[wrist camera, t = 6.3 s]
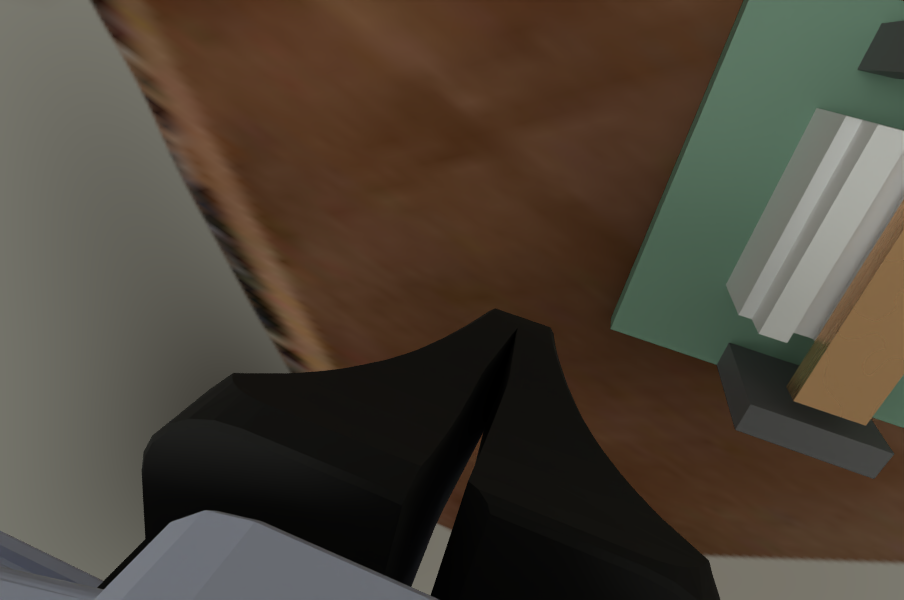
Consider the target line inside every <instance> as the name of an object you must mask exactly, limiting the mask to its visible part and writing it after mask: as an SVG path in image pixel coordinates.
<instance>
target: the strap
mask: <svg viewBox="0 0 904 600" xmlns="http://www.w3.org/2000/svg"><path fill="white" fill-rule="evenodd" d="M903 375H904V200H903V201H902V203H901V204H900V206H899V207H898V209H897V211H896V212H895V214H894V215H893V217H892V219H891V220H890V222H889V223H888V225H887V227H886V228H885V230H884V231H883V233H882V235H881V236H880V238H879V239H878V241H877V243H876V244H875V246H874V247H873V249H872V251H871V252H870V254H869V255H868V257H867V259H866V260H865V262H864V263H863V265H862V267H861V268H860V270H859V271H858V273H857V275H856V276H855V278H854V279H853V281H852V283H851V284H850V286H849V287H848V289H847V290H846V292H845V294H844V295H843V297H842V298H841V300H840V302H839V303H838V305H837V306H836V308H835V310H834V311H833V313H832V314H831V316H830V318H829V319H828V321H827V322H826V324H825V326H824V327H823V329H822V330H821V332H820V334H819V335H818V337H817V338H816V340H815V342H814V343H813V345H812V346H811V348H810V350H809V351H808V353H807V354H806V356H805V358H804V359H803V361H802V362H801V364H800V365H799V367H798V369H797V370H796V372H795V373H794V375H793V377H792V378H791V380H790V381H789V383H788V385H787V386H786V387H787V389H788V391H789V393H790V395H791V397H792V399H793V401H795V402H798V403H801V404H803V405H806V406H809V407H812V408H815V409H818V410H821V411H824V412H827V413H830V414H833V415H836V416H839V417H842V418H845V419H848V420H850V421H853V422H856V423H859V424H862V425H865V426H866V425H867V424H868V422H869V421H870V419H871V418H872V417H873V415H874V414H875V413H876V411H877V410H878V409H879V407H880V406H881V405H882V403H883V402H884V401H885V399H886V398H887V396H888V395H889V394H890V392H891V391H892V390H893V388H894V387H895V386H896V384H897V383H898V382H899V380H900V379H901V378H902V376H903Z"/></svg>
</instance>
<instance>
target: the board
mask: <svg viewBox="0 0 904 600" xmlns="http://www.w3.org/2000/svg"><path fill="white" fill-rule="evenodd" d="M903 200H904V1H901V0H744V1H743V3H742V5H741V8H740V10H739V13H738V15H737V17H736V20H735V22H734V25H733V27H732V29H731V32H730V34H729V37H728V39H727V41H726V44H725V46H724V49H723V51H722V53H721V56H720V58H719V61H718V63H717V65H716V68H715V70H714V73H713V75H712V77H711V80H710V82H709V85H708V87H707V89H706V92H705V94H704V97H703V99H702V101H701V104H700V106H699V109H698V111H697V113H696V116H695V118H694V121H693V123H692V125H691V128H690V130H689V133H688V135H687V137H686V140H685V142H684V145H683V147H682V149H681V152H680V154H679V157H678V159H677V161H676V164H675V166H674V169H673V171H672V173H671V176H670V178H669V181H668V183H667V185H666V188H665V190H664V193H663V195H662V197H661V200H660V202H659V205H658V207H657V209H656V212H655V214H654V217H653V219H652V221H651V224H650V226H649V229H648V231H647V233H646V236H645V238H644V241H643V243H642V245H641V248H640V250H639V253H638V255H637V257H636V260H635V262H634V265H633V267H632V269H631V272H630V274H629V277H628V279H627V281H626V284H625V286H624V289H623V291H622V293H621V296H620V298H619V301H618V303H617V305H616V308H615V310H614V313H613V315H612V317H611V329H612V330H615V331H618V332H621V333H624V334H627V335H630V336H633V337H636V338H639V339H642V340H645V341H648V342H651V343H654V344H657V345H660V346H663V347H665V348H668V349H671V350H674V351H677V352H680V353H683V354H686V355H689V356H692V357H695V358H698V359H701V360H704V361H707V362H710V363H713V364H716V365H717V368H718V371H719V375H720V378H721V382H722V385H723V389H724V392H725V396H726V399H727V403H728V406H729V410H730V413H731V417H732V420H733V424H734V427H735V430H737V431H740V432H743V433H746V434H749V435H751V436H754V437H757V438H760V439H763V440H765V441H768V442H771V443H774V444H777V445H780V446H782V447H785V448H788V449H791V450H794V451H796V452H799V453H802V454H805V455H808V456H811V457H813V458H816V459H819V460H822V461H825V462H828V463H830V464H833V465H836V466H839V467H842V468H844V469H847V470H850V471H853V472H856V473H859V474H861V475H864V476H867V477H870V478H873V479H874V478H875V477H876V476H877V475H878V473H879V472H880V471H881V470H882V468H883V467H884V466H885V465H886V463H887V462H888V461H889V460H890V458H891V457H892V456H893V455H894V453H893V451H892V450H891V448H890V447H889V445H888V444H887V442H886V441H885V439H884V438H883V436H882V435H881V433H880V432H879V430H878V429H877V427H876V426H875V425H874V423H873V422H872V420H871V419H870V421H869V422H868V424H867V425H866V426H865V425H862V424H859V423H856V422H853V421H850V420H848V419H845V418H842V417H839V416H836V415H833V414H830V413H827V412H824V411H821V410H818V409H815V408H812V407H809V406H806V405H803V404H801V403H798V402H795V401H793V399H792V397H791V395H790V393H789V391H788V389H787V387H786V386H787V385H788V383H789V381H790V380H791V378H792V377H793V375H794V373H795V372H796V370H797V369H798V367H799V365H800V364H801V362H802V361H803V359H804V358H805V356H806V354H807V353H808V351H809V350H810V348H811V346H812V345H813V343H814V342H815V340H816V338H817V337H818V335H819V334H820V332H821V330H822V329H823V327H824V326H825V324H826V322H827V321H828V319H829V318H830V316H831V314H832V313H833V311H834V310H835V308H836V306H837V305H838V303H839V302H840V300H841V298H842V297H843V295H844V294H845V292H846V290H847V289H848V287H849V286H850V284H851V283H852V281H853V279H854V278H855V276H856V275H857V273H858V271H859V270H860V268H861V267H862V265H863V263H864V262H865V260H866V259H867V257H868V255H869V254H870V252H871V251H872V249H873V247H874V246H875V244H876V243H877V241H878V239H879V238H880V236H881V235H882V233H883V231H884V230H885V228H886V227H887V225H888V223H889V222H890V220H891V219H892V217H893V215H894V214H895V212H896V211H897V209H898V207H899V206H900V204H901V203H902V201H903ZM873 418H876V419H879V420H882V421H885V422H888V423H891V424H894V425H897V426H899V427H902V428H904V375H903V376H902V378H901V379H900V380H899V382H898V383H897V384H896V386H895V387H894V388H893V390H892V391H891V392H890V394H889V395H888V396H887V398H886V399H885V401H884V402H883V403H882V405H881V406H880V407H879V409H878V410H877V411H876V413H875V414H874V415H873Z"/></svg>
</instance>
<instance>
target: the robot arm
mask: <svg viewBox="0 0 904 600" xmlns="http://www.w3.org/2000/svg"><path fill="white" fill-rule="evenodd" d="M483 431H484V432H483ZM482 433H483V436H482V439H481V443H480V447H479V451H478V455H477V459H476V463H475V467H474V469H473V471H472V474H471V476H470V478H469V480H468V483H467V486H466V489H465V492H464V495H463V498H462V501H461V505H460V508H459V511H458V514H457V517H456V520H455V523H454V526H453V529H452V532H451V535H450V538H449V541H448V544H447V547H446V550H445V554H444V556H443V559H442V563H441V565H440V569H439V571H438V575H437V578H436V581H435V584H434V587H433V590H432V593H431V596H430V595H428V594H425V593H423V592H421V591H419V590H417V589H414V588H412V587H411V586H412V583H413V581H414V578H415V576H416V573H417V571H418V568H419V566H420V563H421V561H422V558H423V556H424V553H425V550H426V548H427V545H428V543H429V540H430V538H431V535H432V533H433V530H434V528H435V526H436V523H437V521H438V519H439V517H440V515H441V513H442V511H443V508H444V507H445V505H446V503H447V501H448V499H449V497H450V495H451V493H452V491H453V489H454V487H455V485H456V483H457V482H458V480H459V478H460V476H461V474H462V472H463V470H464V468H465V466H466V464H467V462H468V460H469V458H470V457H471V455H472V453H473V451H474V449H475V447H476V445H477V443H478V441H479V439H480V437H481V435H482ZM142 485H143V502H144V521H145V538H146V539H145V540H144V541H143V542H142V543H141V544H140V545H139V546H138V547H137V548H136V549H135V550H134V551H133V552H132V553H131V554H130V555H129V556H128V557H127V558H126V559H125V560H124V561H123V562H122V563H121V564H120V565H119V566H118V567H117V568H116V569H115V570H114V571H113V572H112V573H111V574H110V575H109V576H108V577H107V578H106V579H105V580H104V581H102V580H100V579H99V578H96V577H94V576H92V575H90V574H88V573H86V572H84V571H82V570H80V569H78V568H76V567H74V566H72V565H70V564H68V563H66V562H64V561H62V560H60V559H57V558H55V557H53V556H51V555H49V554H47V553H45V552H43V551H41V550H39V549H37V548H34V547H33V546H31V545H29V544H27V543H25V542H22V541H20V540H18V539H16V538H14V537H12V536H10V535H8V534H6V533H4V532H2V531H0V600H720V597H719V594H718V591H717V587H716V585H715V581H714V578H713V575H712V571H711V567H710V563H709V560H708V559H706V558H705V557H704V556H703V555H702V554H701V553H700V552H699V551H698V550H696V549H695V548H694V547H693V546H692V545H691V544H690V543H689V542H688V541H686V540H685V539H684V538H683V537H682V536H681V535H680V534H679V533H677V532H676V531H675V530H674V529H673V528H672V527H671V526H670V525H669V524H667V523H666V522H665V521H664V520H663V519H662V518H661V517H660V516H659V515H658V514H657V513H656V512H655V511H654V510H653V509H652V508H651V507H650V506H649V505H648V504H647V503H646V502H645V500H644V499H643V498H642V497H641V496H640V495H639V494H638V493H637V492H636V491H635V490H634V489H633V488H632V486H631V485H630V484H629V483H628V482H627V481H626V479H625V478H624V477H623V476H622V475H621V474H620V472H619V471H618V470H617V468H616V467H615V466H614V464H613V463H612V462H611V461H610V459H609V458H608V457H607V455H606V454H605V453H604V451H603V450H602V449H601V447H600V446H599V444H598V443H597V441H596V440H595V438H594V437H593V435H592V433H591V432H590V430H589V428H588V427H587V425H586V424H585V422H584V420H583V418H582V416H581V414H580V412H579V410H578V408H577V406H576V404H575V402H574V400H573V397H572V395H571V393H570V390H569V388H568V385H567V383H566V380H565V377H564V374H563V371H562V368H561V365H560V362H559V359H558V355H557V351H556V347H555V342H554V334H553V332H552V330H551V328H550V327H548V326H545V325H542V324H539V323H536V322H533V321H530V320H527V319H524V318H521V317H518V316H516V315H513V314H510V313H507V312H504V311H501V310H498V309H493V310H491V311H489V312H487V313H486V314H484V315H483V316H481V317H480V318H478V319H476V320H475V321H473V322H472V323H470V324H468V325H467V326H465V327H463V328H461V329H459V330H458V331H456V332H454V333H452V334H450V335H448V336H447V337H445V338H443V339H441V340H438V341H436V342H434V343H432V344H429V345H427V346H425V347H423V348H421V349H418V350H416V351H413V352H410V353H407V354H404V355H401V356H397V357H394V358H391V359H387V360H383V361H379V362H374V363H369V364H364V365H359V366H354V367H349V368H343V369H336V370H328V371H318V372H305V373H287V374H282V373H281V374H280V373H279V374H278V373H273V374H271V373H270V374H268V373H267V374H266V373H265V374H264V373H259V374H257V373H255V374H254V373H250V374H249V373H248V374H246V373H245V374H244V373H233V374H231V375H230V376H228V377H227V378H225V379H224V380H222V381H221V382H220V383H218V384H217V385H215V386H214V387H213V388H211V389H209V390H208V391H207V392H206V393H205V394H203V395H202V396H201V397H200V398H198V399H197V400H196V401H195V402H194V403H192V404H191V405H190V406H189V407H187V408H186V409H185V410H184V411H182V412H181V413H180V414H179V415H177V416H176V417H175V418H174V419H172V420H171V421H170V422H169V423H167V424H166V425H165V426H164V427H162V428H161V429H160V430H159V431H158V432H156V433H155V434H154V435H153V436H152V437H151V439H150V441H149V443H148V445H147V447H146V449H145V450H144V454H143V465H142Z"/></svg>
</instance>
